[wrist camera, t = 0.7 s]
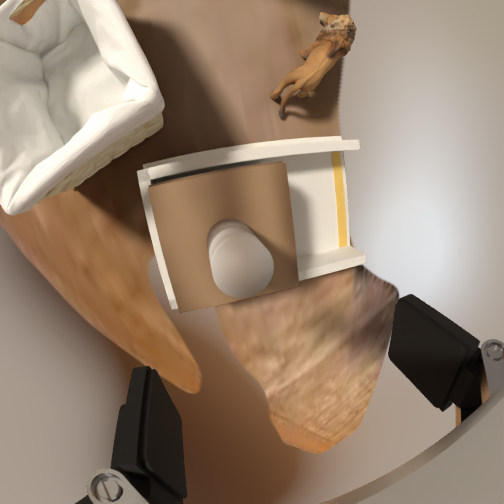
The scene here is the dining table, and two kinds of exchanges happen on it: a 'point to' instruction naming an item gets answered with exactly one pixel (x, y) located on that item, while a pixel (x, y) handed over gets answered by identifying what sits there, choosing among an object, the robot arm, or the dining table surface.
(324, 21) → the lion figurine
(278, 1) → the dining table surface
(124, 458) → the robot arm
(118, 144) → the storage basket
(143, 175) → the bay
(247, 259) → the tan block with peg
